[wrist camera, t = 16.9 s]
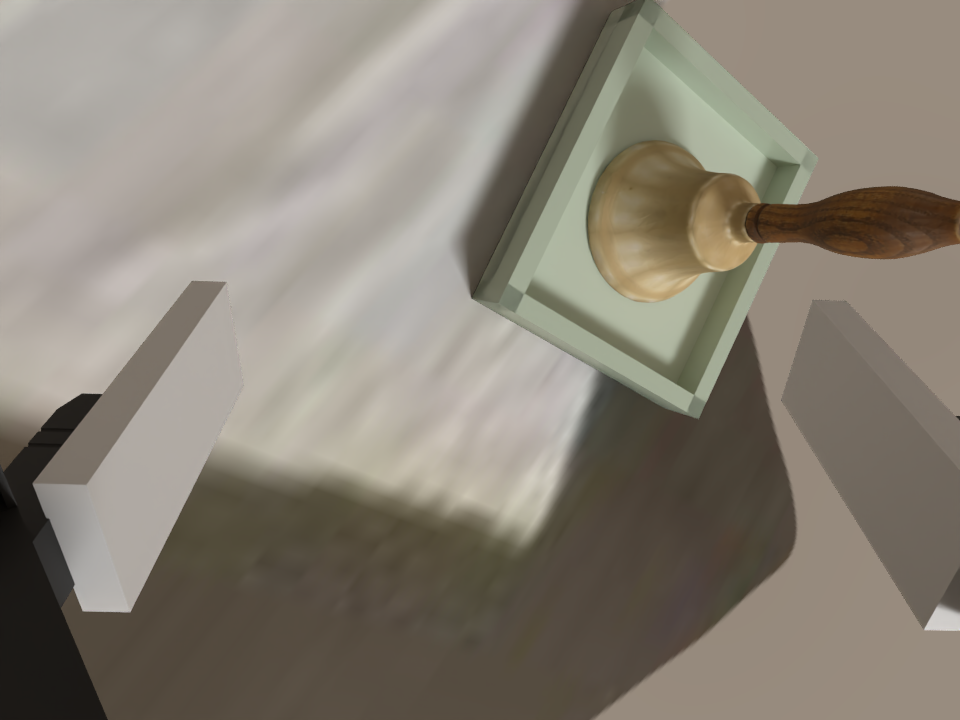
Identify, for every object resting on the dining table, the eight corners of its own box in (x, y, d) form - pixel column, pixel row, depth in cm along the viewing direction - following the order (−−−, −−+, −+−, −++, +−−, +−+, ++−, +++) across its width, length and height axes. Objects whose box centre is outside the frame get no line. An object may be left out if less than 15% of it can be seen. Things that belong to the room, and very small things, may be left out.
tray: (611, 11, 36) (647, -6, 33) (777, 162, 42) (818, 158, 40) (471, 298, 35) (498, 303, 32) (663, 407, 41) (698, 418, 39)
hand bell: (697, 311, 39) (1015, 354, 25) (573, 291, 36) (866, 327, 22) (725, 160, 39) (1069, 117, 25) (601, 123, 35) (924, 46, 21)
